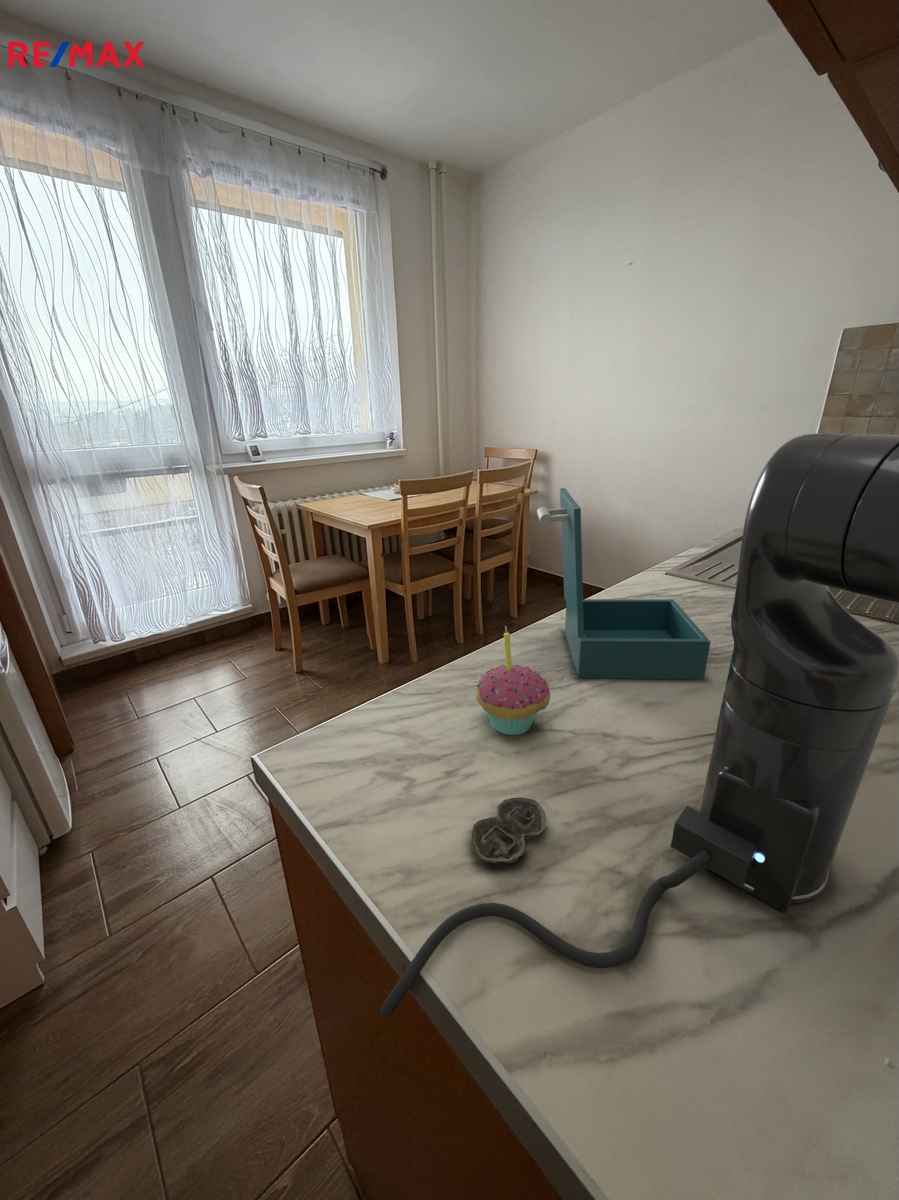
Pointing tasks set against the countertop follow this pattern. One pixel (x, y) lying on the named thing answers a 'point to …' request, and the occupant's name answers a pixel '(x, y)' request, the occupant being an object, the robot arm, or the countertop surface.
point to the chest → (637, 640)
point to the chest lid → (569, 553)
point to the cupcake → (512, 695)
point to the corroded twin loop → (508, 830)
